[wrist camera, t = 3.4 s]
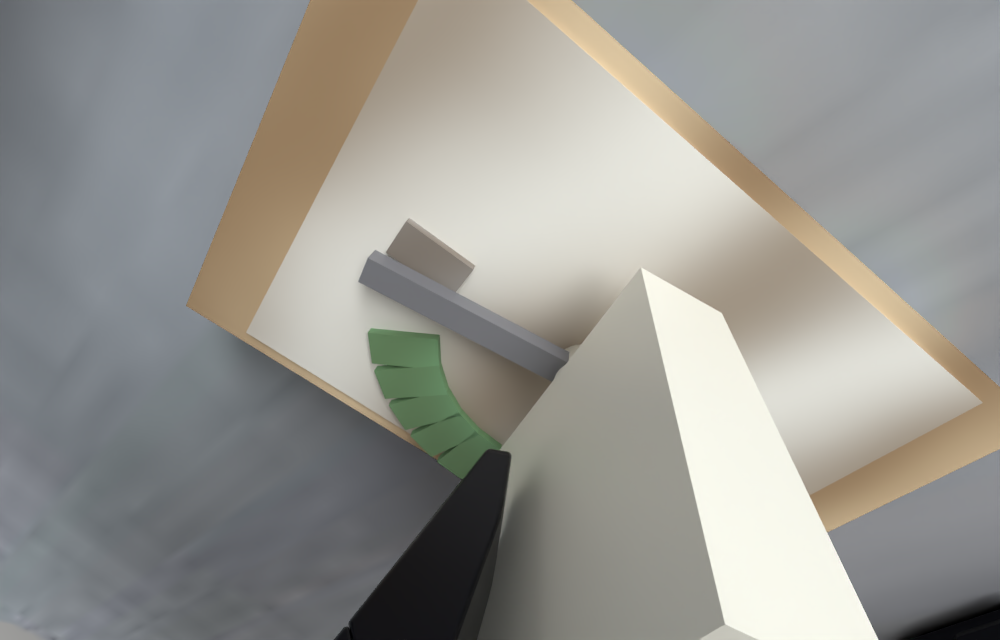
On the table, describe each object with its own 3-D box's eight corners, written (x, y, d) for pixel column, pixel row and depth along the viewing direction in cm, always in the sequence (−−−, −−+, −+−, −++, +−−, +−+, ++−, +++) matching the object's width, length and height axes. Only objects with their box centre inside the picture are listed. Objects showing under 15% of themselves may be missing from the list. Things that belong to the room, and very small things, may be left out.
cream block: (705, 278, 9) (912, 712, 3) (544, 462, 12) (510, 855, 7) (429, 121, 9) (95, 330, 3) (332, 358, 12) (78, 695, 6)
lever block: (963, 357, 12) (1056, 437, 10) (663, 533, 17) (676, 616, 15) (428, -126, 9) (372, -181, 7) (247, 262, 14) (177, 311, 11)
